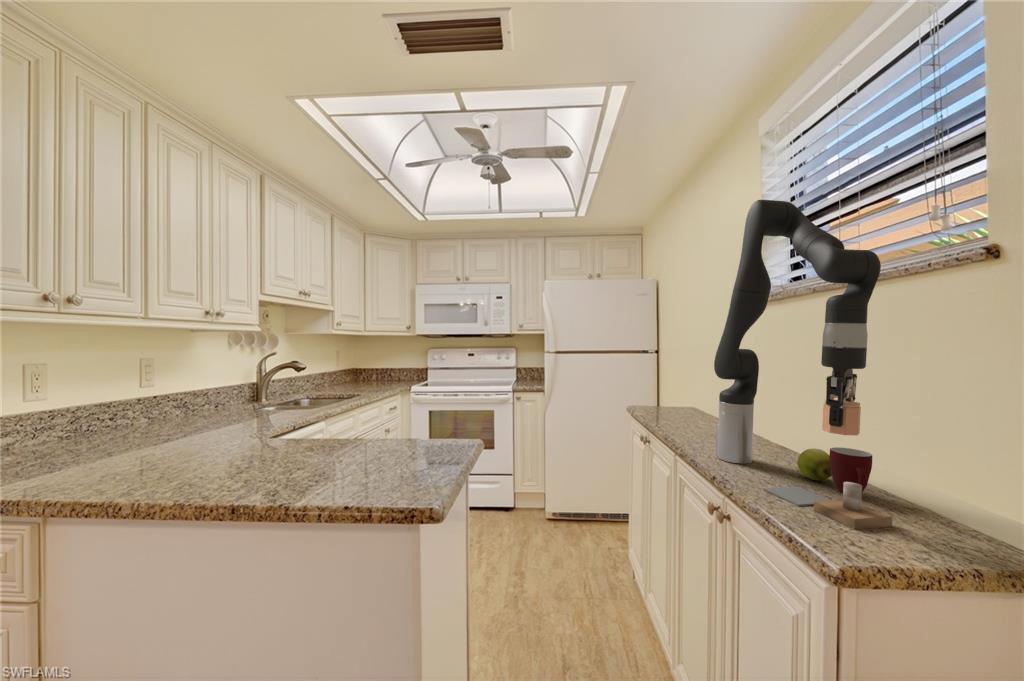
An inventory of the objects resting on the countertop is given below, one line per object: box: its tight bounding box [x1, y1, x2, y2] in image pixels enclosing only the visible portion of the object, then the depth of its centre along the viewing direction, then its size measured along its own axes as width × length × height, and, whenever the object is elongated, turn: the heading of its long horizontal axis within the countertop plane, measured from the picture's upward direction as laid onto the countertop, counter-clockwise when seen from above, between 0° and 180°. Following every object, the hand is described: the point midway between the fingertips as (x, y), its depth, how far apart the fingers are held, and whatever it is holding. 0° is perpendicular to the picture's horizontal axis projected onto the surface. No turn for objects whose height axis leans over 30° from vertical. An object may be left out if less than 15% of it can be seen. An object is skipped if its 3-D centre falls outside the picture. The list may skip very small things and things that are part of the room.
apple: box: [796, 448, 832, 481], centre depth 114 cm, size 8×9×8 cm
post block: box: [813, 482, 893, 530], centre depth 90 cm, size 9×9×7 cm
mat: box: [763, 486, 831, 507], centre depth 101 cm, size 10×10×1 cm
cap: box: [821, 398, 861, 436], centre depth 92 cm, size 6×6×6 cm
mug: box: [829, 447, 873, 495], centre depth 103 cm, size 10×8×10 cm
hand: (839, 423), depth 93 cm, fingers closed on cap, 6 cm apart
